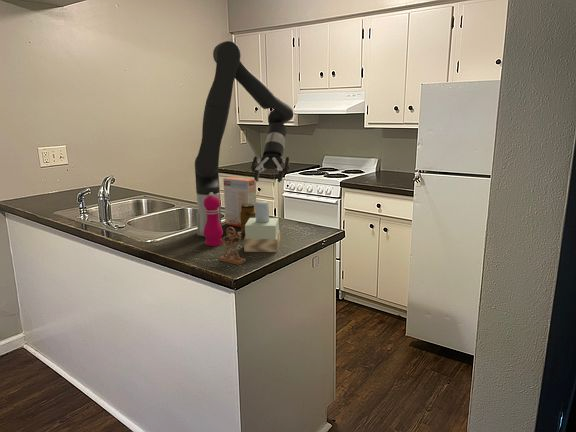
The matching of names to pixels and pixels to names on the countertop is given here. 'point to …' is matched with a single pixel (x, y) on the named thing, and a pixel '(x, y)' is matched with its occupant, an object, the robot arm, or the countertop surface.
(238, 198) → the cracker box
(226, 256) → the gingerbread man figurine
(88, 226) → the countertop surface
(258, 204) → the blue round block
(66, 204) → the countertop surface
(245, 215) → the condiment
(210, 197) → the pepper mill
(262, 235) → the sage top block
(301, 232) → the countertop surface
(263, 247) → the maple base block
